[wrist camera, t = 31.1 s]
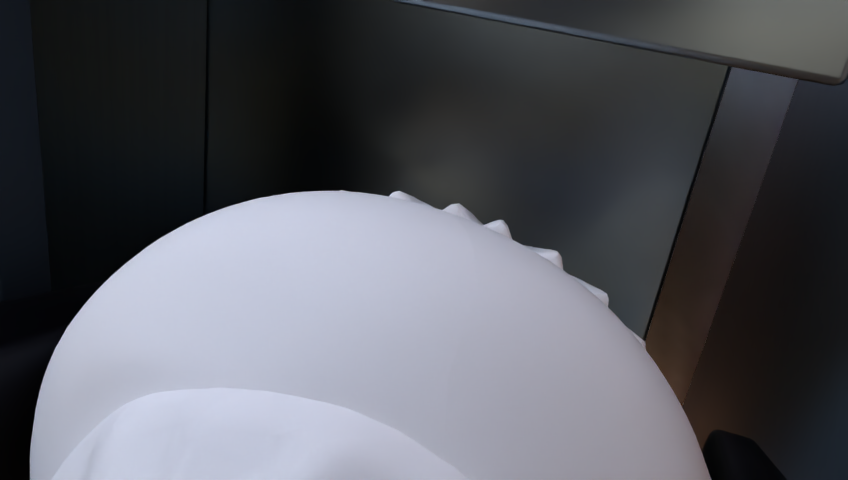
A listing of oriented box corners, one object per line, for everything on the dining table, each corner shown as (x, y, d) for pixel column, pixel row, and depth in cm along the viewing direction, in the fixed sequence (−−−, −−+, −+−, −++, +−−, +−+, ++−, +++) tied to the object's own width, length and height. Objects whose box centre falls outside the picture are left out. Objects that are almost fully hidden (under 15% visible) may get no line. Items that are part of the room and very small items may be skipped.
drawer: (1279, -18, 12) (2544, 105, 4) (953, 530, 16) (1214, 1081, 9) (206, -177, 15) (-273, -283, 7) (198, 307, 20) (-98, 552, 12)
